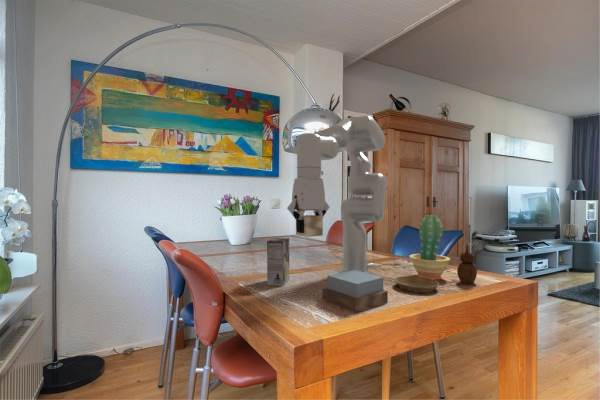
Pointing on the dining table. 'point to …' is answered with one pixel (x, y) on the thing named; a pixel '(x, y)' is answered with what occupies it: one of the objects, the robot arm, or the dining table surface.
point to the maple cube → (312, 226)
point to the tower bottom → (355, 300)
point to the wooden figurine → (467, 268)
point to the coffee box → (277, 261)
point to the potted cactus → (430, 249)
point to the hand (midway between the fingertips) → (309, 231)
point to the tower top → (355, 283)
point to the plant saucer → (416, 284)
